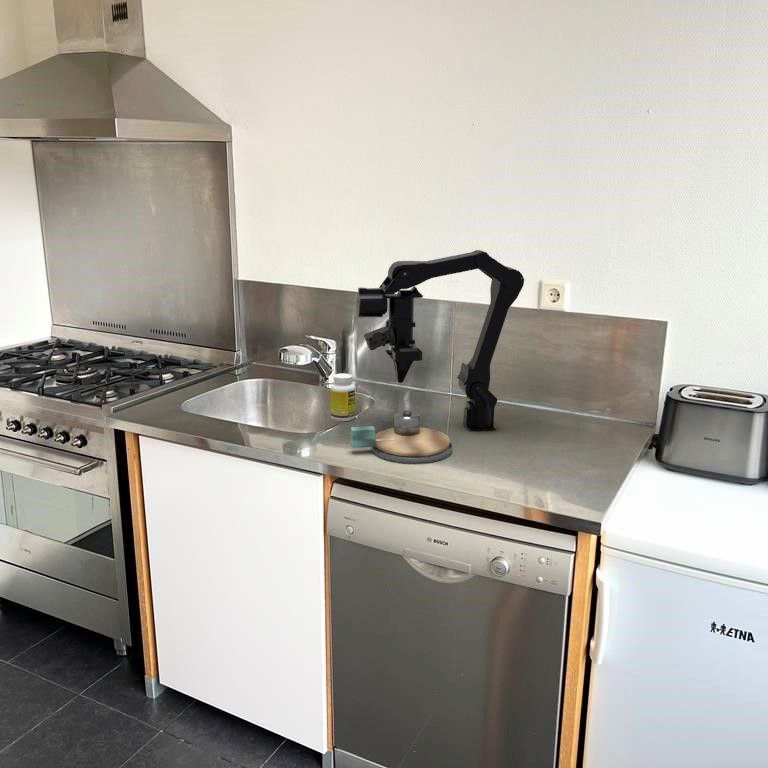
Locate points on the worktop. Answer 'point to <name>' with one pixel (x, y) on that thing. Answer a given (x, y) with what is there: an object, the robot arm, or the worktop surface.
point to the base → (412, 459)
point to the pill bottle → (342, 398)
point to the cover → (406, 423)
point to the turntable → (401, 441)
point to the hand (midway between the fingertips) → (399, 382)
